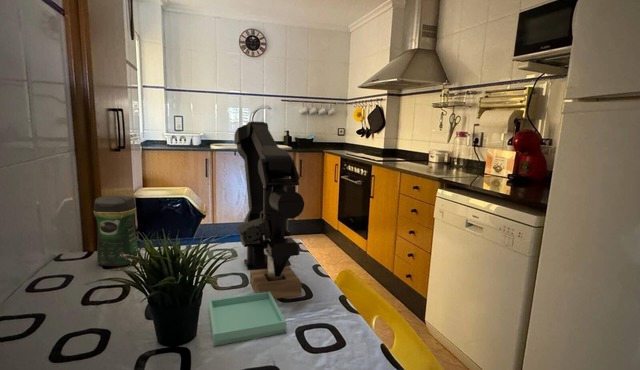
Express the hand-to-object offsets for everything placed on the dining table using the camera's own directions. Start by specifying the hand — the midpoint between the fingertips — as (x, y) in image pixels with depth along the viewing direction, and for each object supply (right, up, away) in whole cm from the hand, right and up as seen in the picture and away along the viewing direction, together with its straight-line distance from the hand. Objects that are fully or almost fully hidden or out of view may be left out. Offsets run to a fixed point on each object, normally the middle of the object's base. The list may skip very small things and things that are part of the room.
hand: (275, 272), depth 83 cm
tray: (-4, -6, -14) cm, 16 cm away
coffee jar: (-45, -1, +14) cm, 47 cm away
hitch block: (0, -4, +1) cm, 4 cm away
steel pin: (0, -4, +1) cm, 4 cm away
